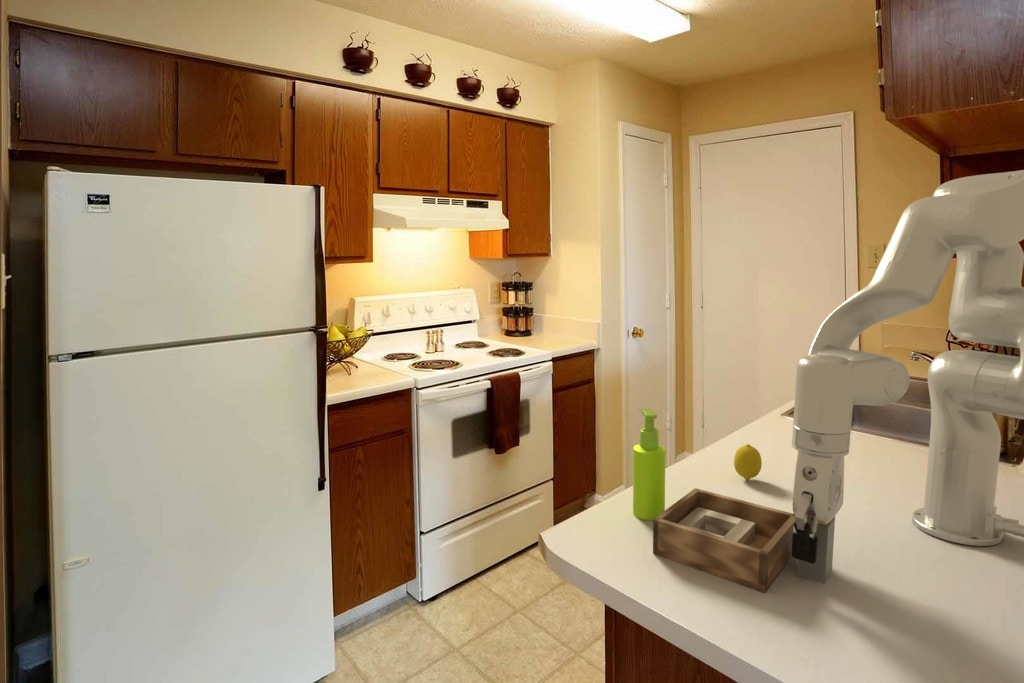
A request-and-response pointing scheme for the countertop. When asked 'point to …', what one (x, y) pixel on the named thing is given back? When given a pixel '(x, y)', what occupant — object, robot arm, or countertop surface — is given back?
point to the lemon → (747, 462)
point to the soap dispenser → (648, 471)
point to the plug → (820, 554)
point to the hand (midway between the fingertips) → (812, 547)
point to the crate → (726, 537)
